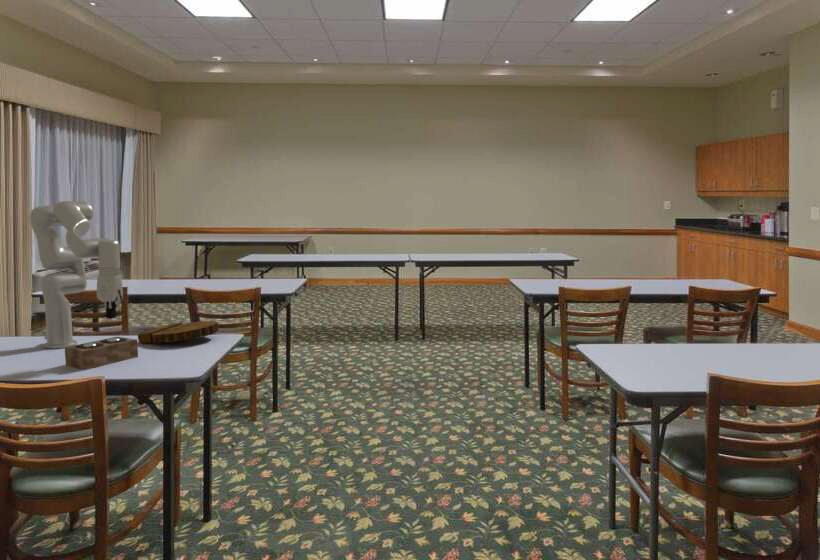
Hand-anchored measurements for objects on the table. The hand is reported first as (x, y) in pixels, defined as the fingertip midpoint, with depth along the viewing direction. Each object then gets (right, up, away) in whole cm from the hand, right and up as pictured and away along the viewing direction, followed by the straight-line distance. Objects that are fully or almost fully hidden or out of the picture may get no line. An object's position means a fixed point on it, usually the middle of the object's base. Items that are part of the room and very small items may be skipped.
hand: (111, 317), depth 230 cm
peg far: (+1, -16, +2) cm, 16 cm away
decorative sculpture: (+15, -13, +35) cm, 40 cm away
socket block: (-2, -17, -3) cm, 17 cm away
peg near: (-4, -17, -7) cm, 19 cm away
